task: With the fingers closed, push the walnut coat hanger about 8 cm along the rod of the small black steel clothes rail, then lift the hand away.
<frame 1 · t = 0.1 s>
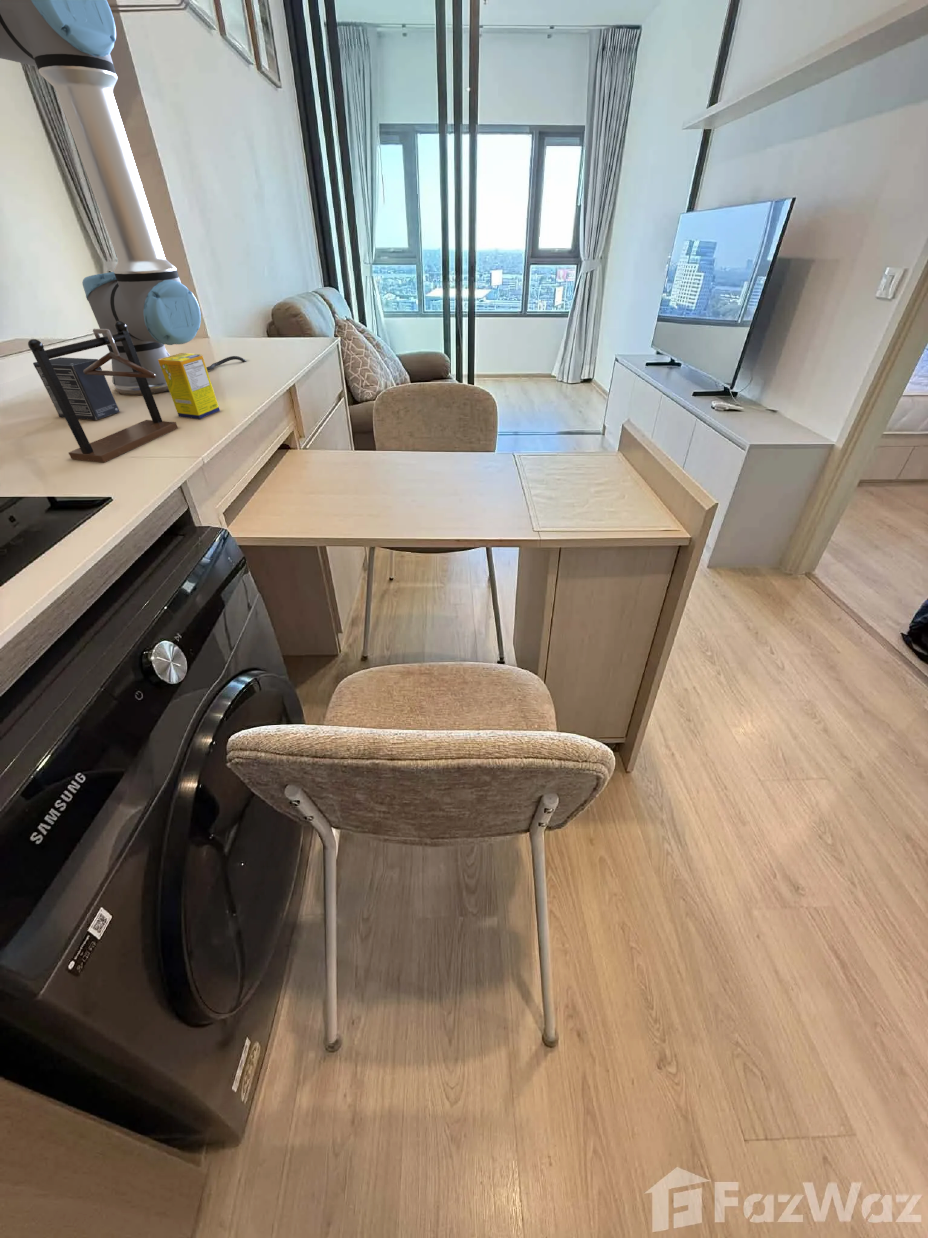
clothes rail: (128, 442, 93), on the worktop
hanger: (110, 353, 87), point 14 cm above the worktop, slide at 0.0 cm
supplement box: (199, 415, 106), on the worktop
small box: (91, 415, 107), on the worktop
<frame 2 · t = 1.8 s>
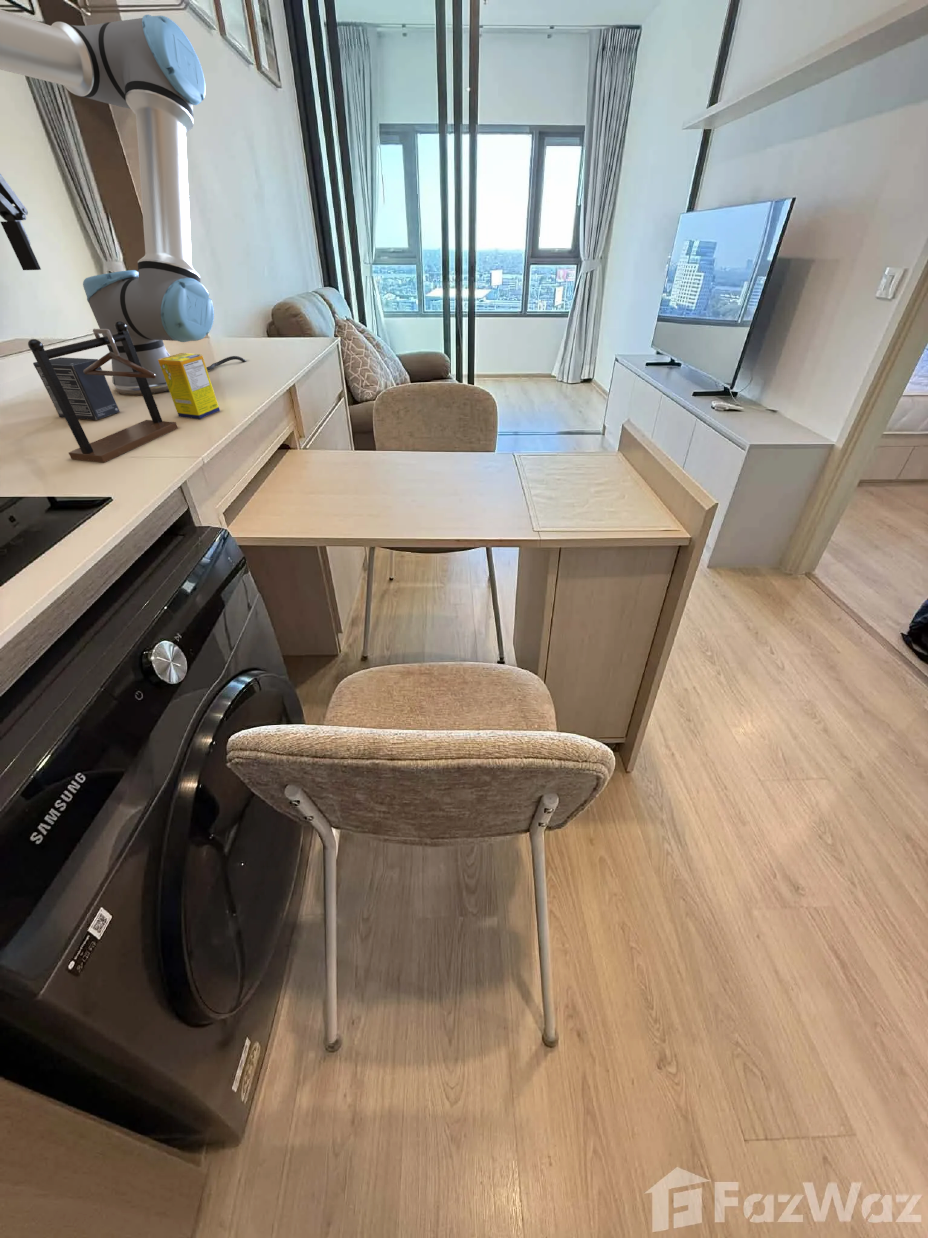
hand: (0, 274, 81), 26 cm above the worktop, tool pointing down, fingers open, 13 cm apart
nothing on the worktop moved.
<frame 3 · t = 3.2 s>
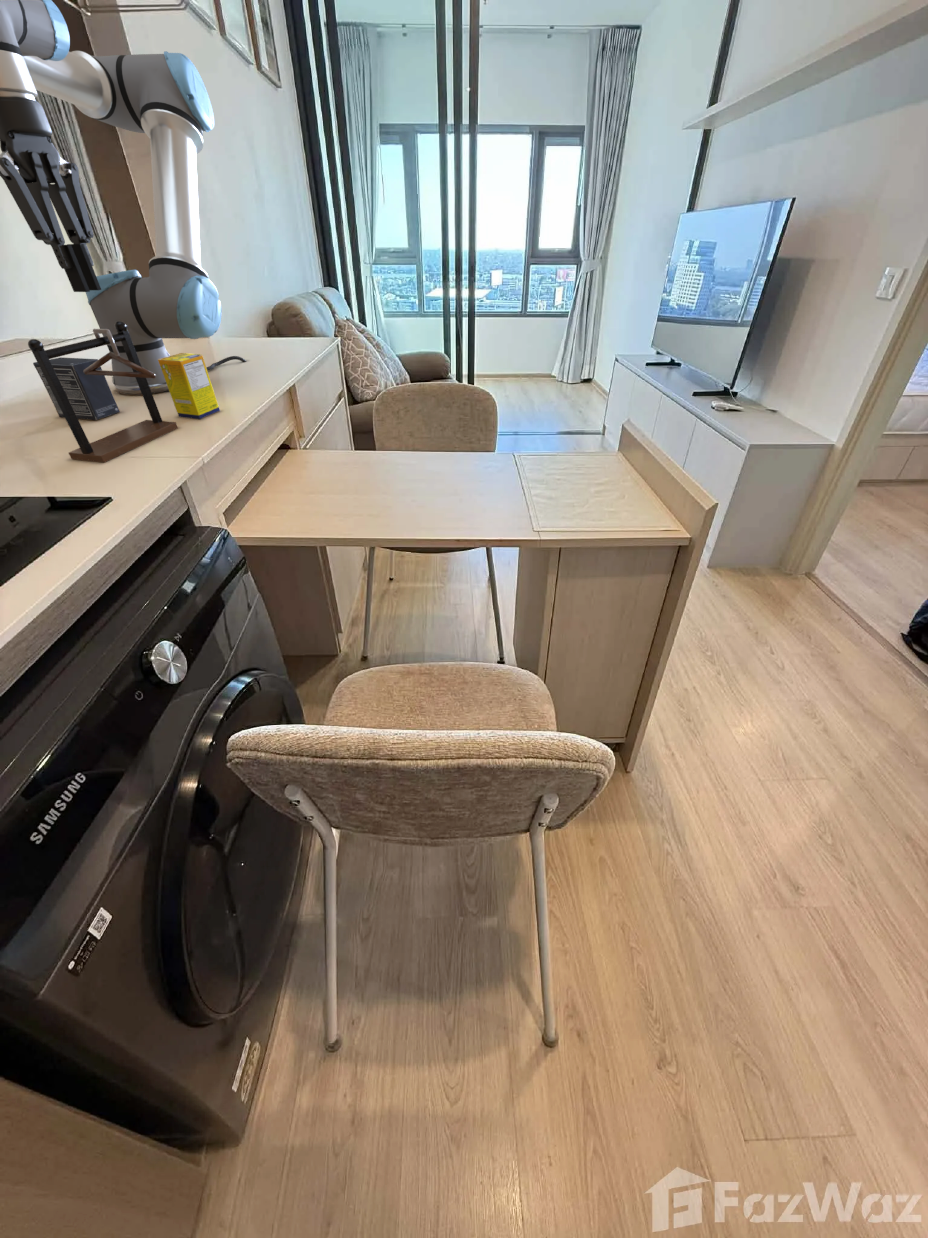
hand: (87, 290, 88), 22 cm above the worktop, tool pointing down, fingers closed
nothing on the worktop moved.
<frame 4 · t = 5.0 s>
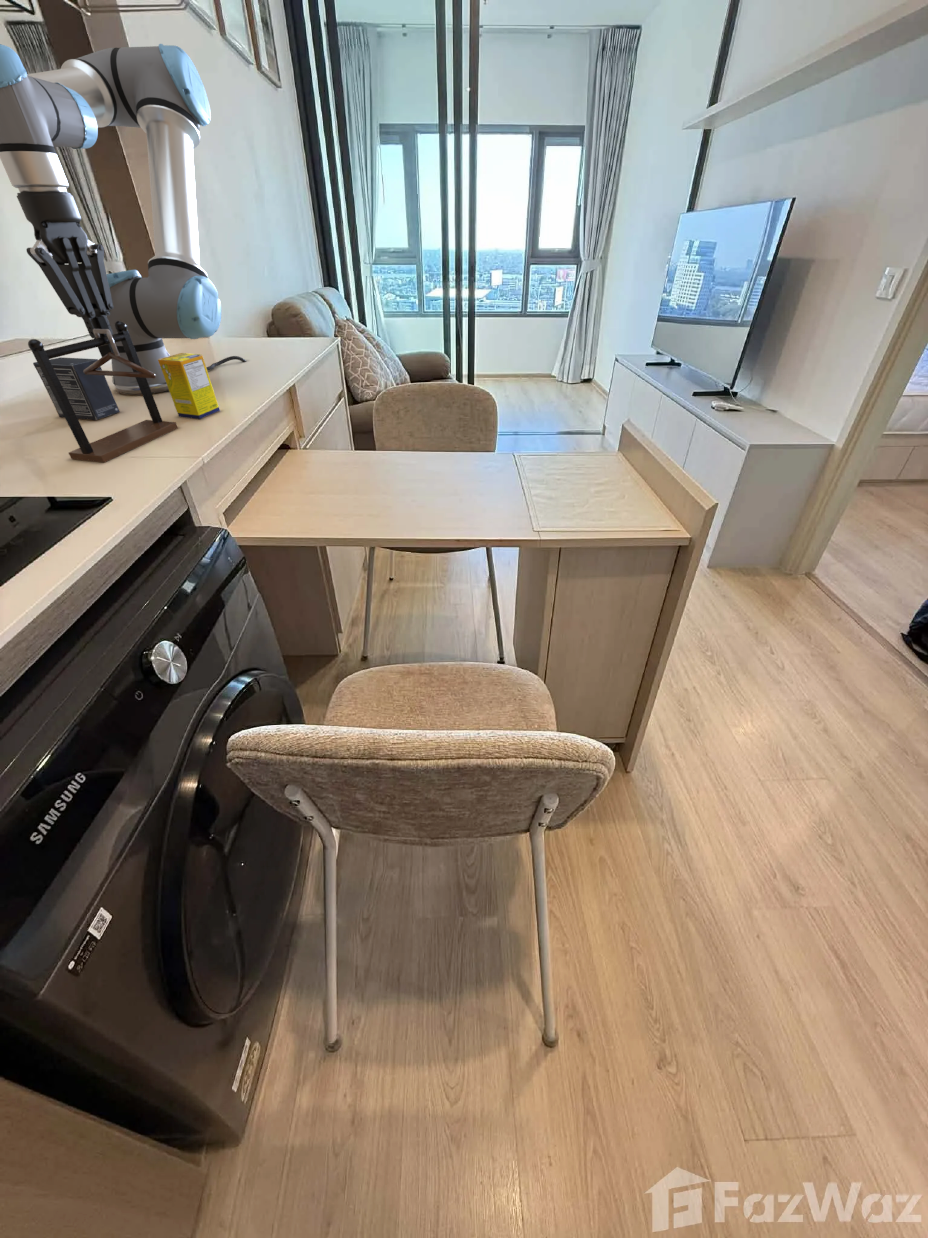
hand: (111, 356, 94), 12 cm above the worktop, tool pointing down, fingers closed
nothing on the worktop moved.
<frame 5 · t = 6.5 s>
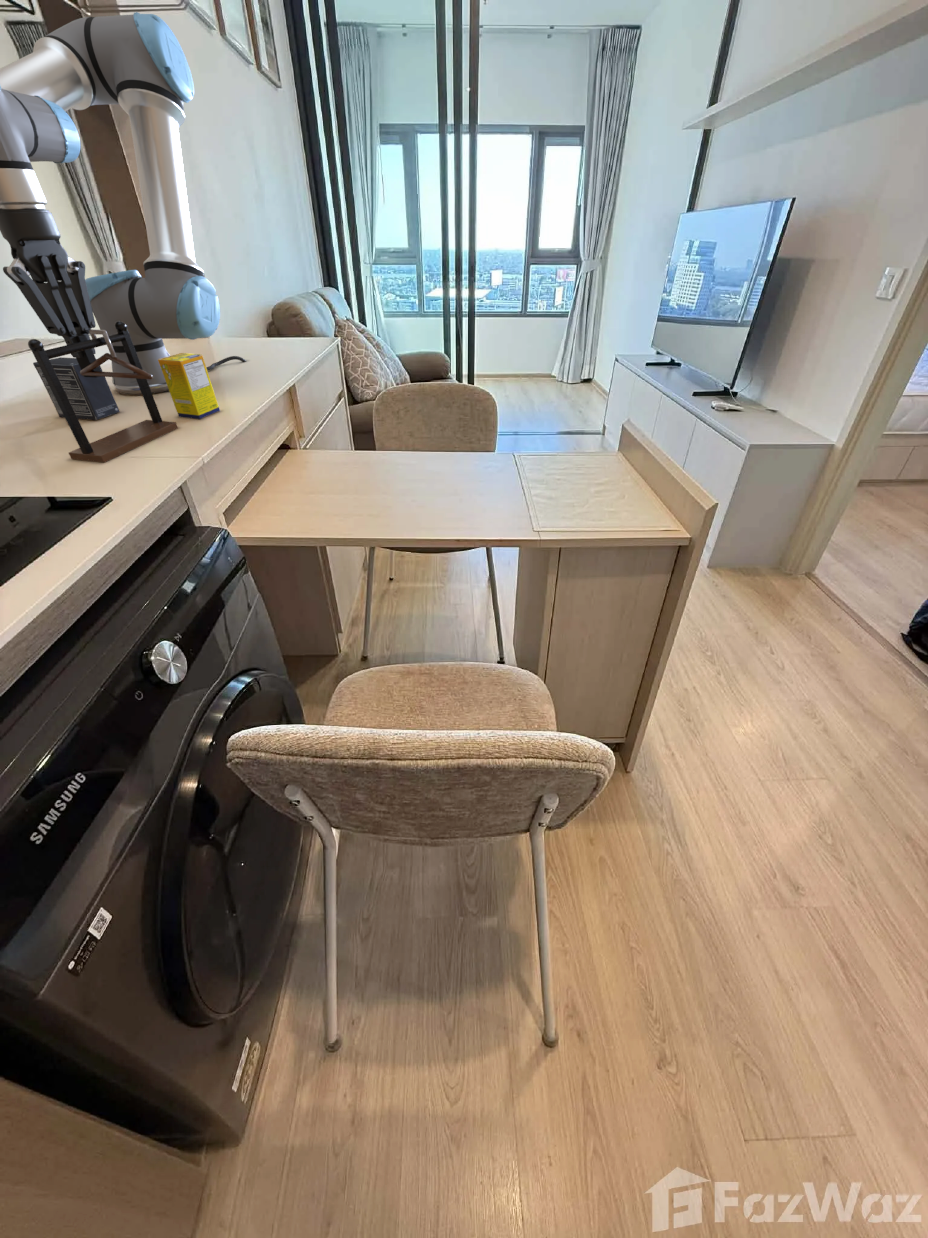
hand: (93, 375, 91), 10 cm above the worktop, tool pointing down, fingers closed
hanger: (107, 354, 87), point 14 cm above the worktop, slide at 0.8 cm, touching gripper
everything else where it was.
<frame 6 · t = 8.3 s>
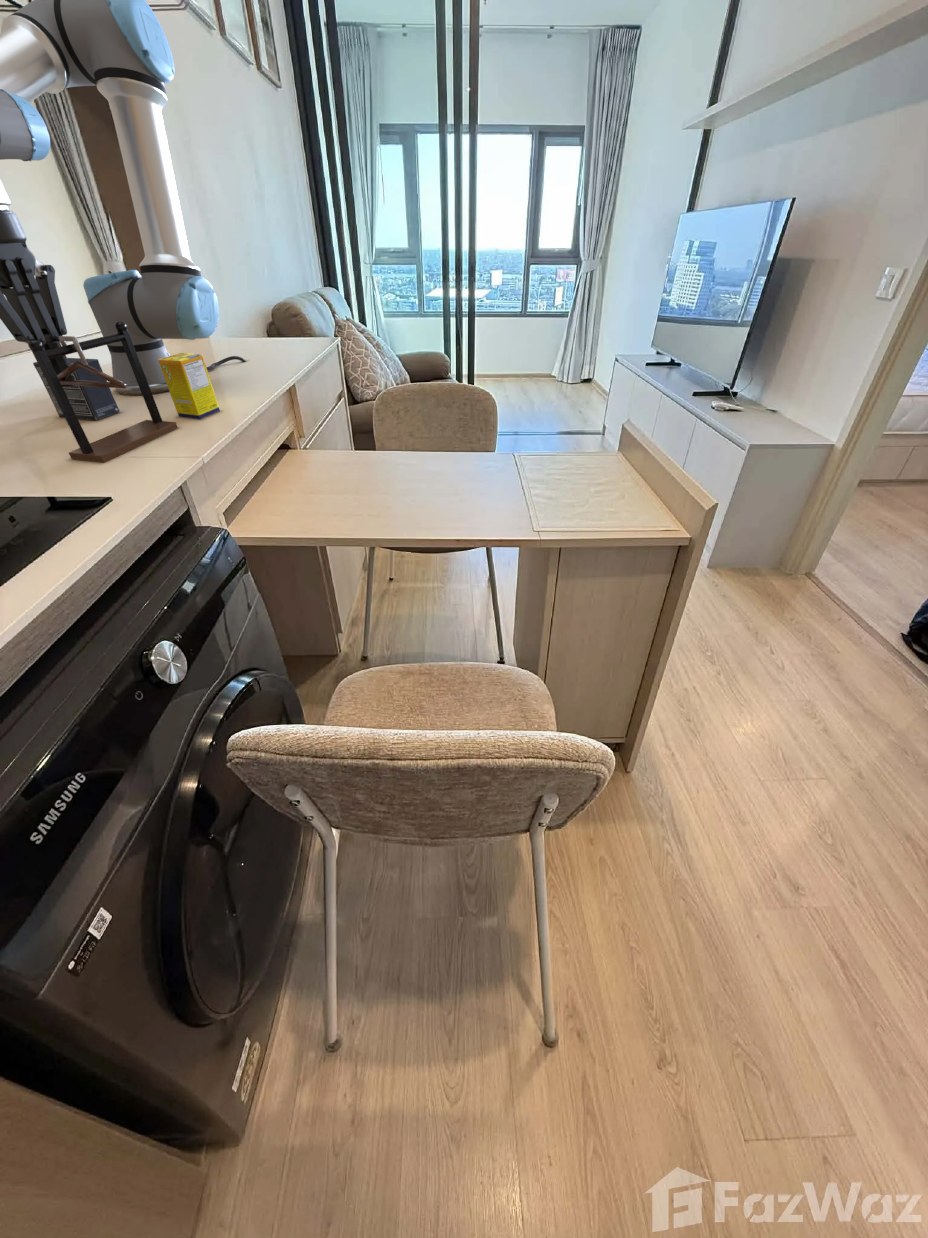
hand: (66, 385, 87), 10 cm above the worktop, tool pointing down, fingers closed
hanger: (78, 361, 82), point 14 cm above the worktop, slide at 6.6 cm, touching gripper
everything else where it was.
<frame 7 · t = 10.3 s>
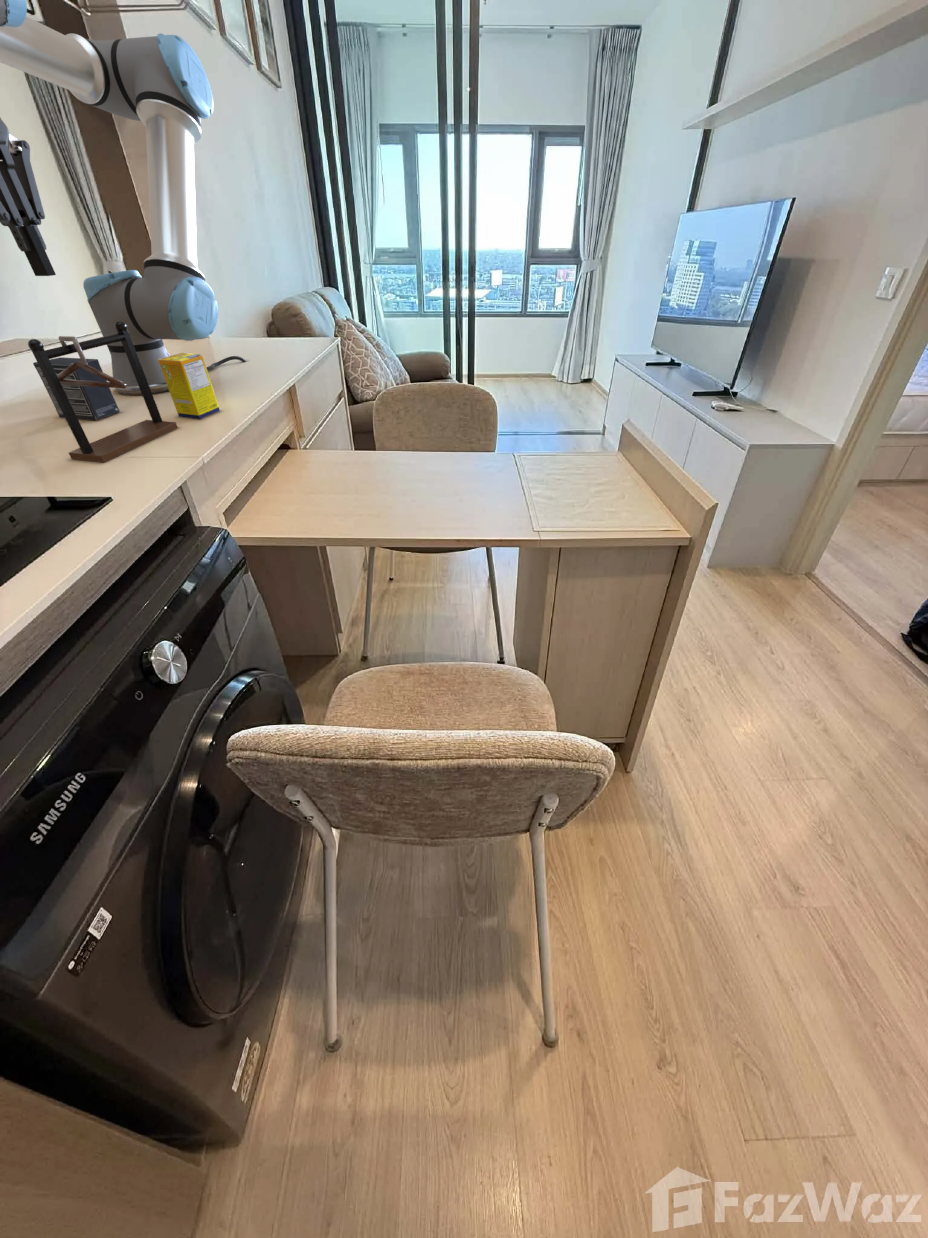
hand: (45, 275, 84), 25 cm above the worktop, tool pointing down, fingers closed
hanger: (78, 361, 82), point 14 cm above the worktop, slide at 6.6 cm
everything else where it was.
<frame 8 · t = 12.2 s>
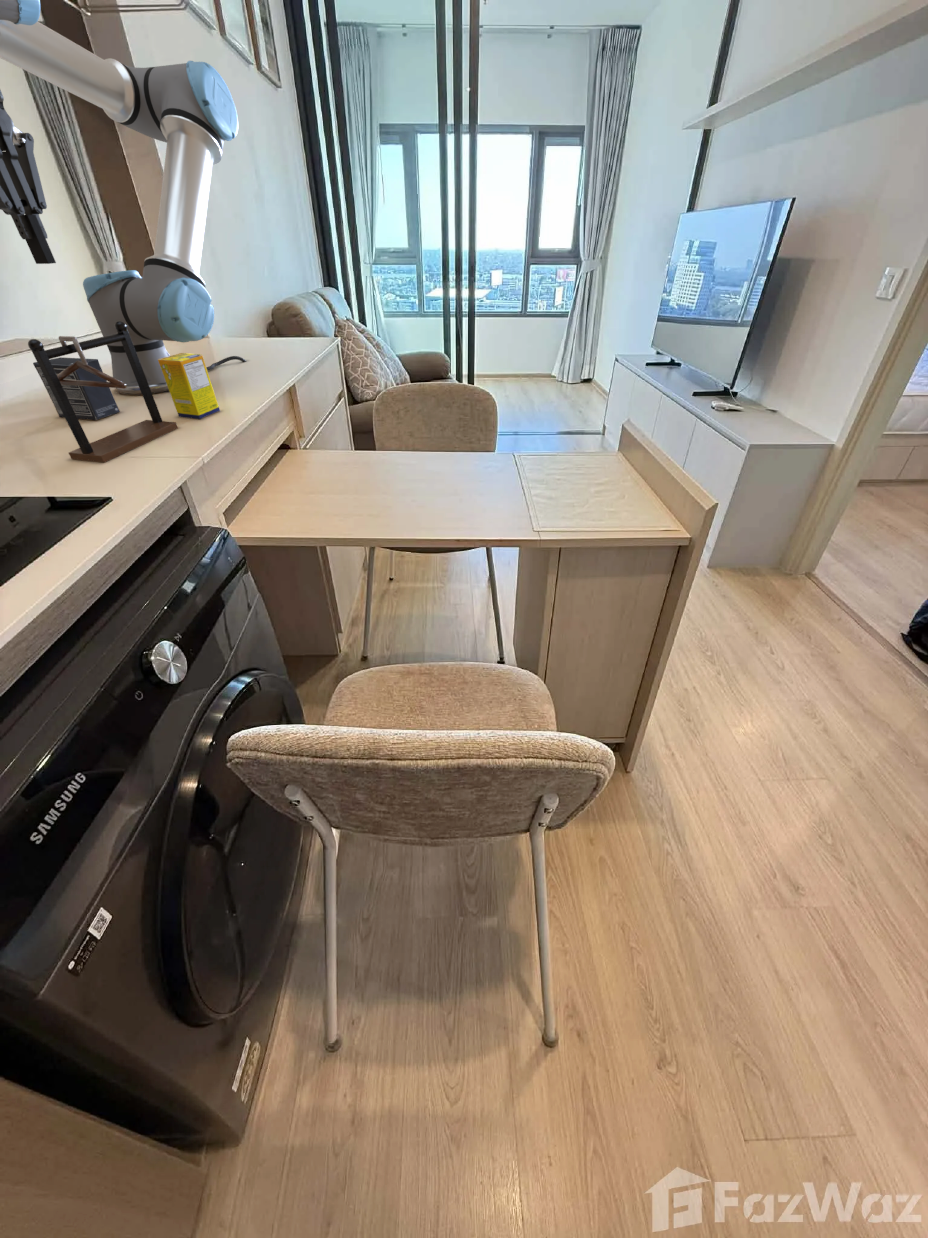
hand: (46, 263, 87), 26 cm above the worktop, tool pointing down, fingers closed
nothing on the worktop moved.
at the end: hanger slide at 6.6 cm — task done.
